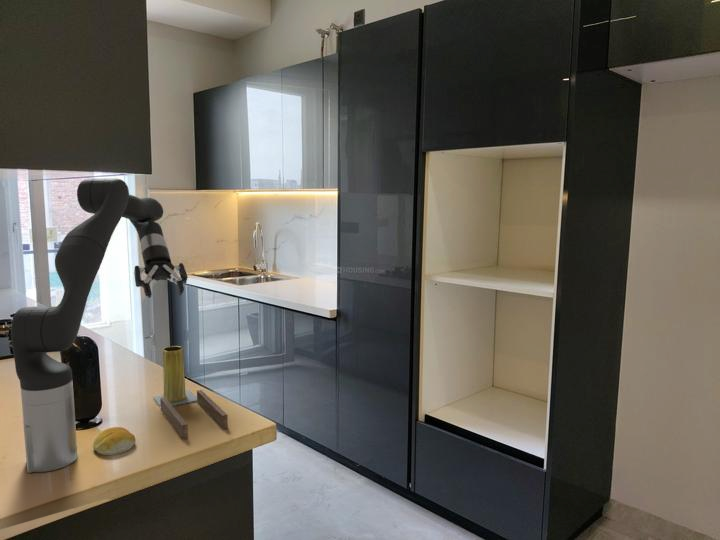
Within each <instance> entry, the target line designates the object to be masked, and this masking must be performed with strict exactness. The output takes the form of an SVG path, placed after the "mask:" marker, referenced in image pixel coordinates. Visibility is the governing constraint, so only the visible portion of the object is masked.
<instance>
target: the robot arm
mask: <svg viewBox="0 0 720 540" xmlns="http://www.w3.org/2000/svg"><path fill="white" fill-rule="evenodd" d="M76 189H77V190H76V198H77V202H78V205H79V206H80V208H81V209H82V210H83V211H84V212H87V213H89V214H92V215H91V216H90V217H89V218H87V219H86V220H84V221H82V222H81V223H80V224H78V225H76V226H75V227H74V228H73V229H71V230H70V231H69V232H68V233H67V234H66V235H65V236H64V238H63V240H62V242H61V244H60V246H59V247H58V250H57V252H56V254H55V258H54V266H55V267H54V268H55V270H56V273H57V276H58V277H59V280H60V282H61V284H62V286H63V290H64V291H63V296H62V299H61V301H60V302H59V303H58V304H57V305H56V306H25V307H21V308H19V309H18V310H16V312H15V314H14V315H13V318H12V321H11V325H10V339H11V340H10V341H11V345H12V354H13V358H14V367H15V368H14V369H15V372H16V373H15V374H16V376H17V379H19V385H20V395H21V406H22V424H23V433H24V434H23V435H24V447H25V448H24V449H25V457H26V458H25V460H26V469H27V473H28V474H31V473H36V472H37V473H43V472H46V473H47V472H51V471H56V470H59V469H62V468H65V467H67V466H69V465H71V464H72V463H74V462H75V461H76V460H77V459H78V442H77V441H78V440H77V428H76V412H75V399H74V398H75V397H74V384H73V371H72V368H71V366H70V365H68V364H67V363H64V362H61V361H60V360H59V361H58V360H56V359H54V358H52V357H51V356H50V355H49V354H47V353H55V352H56V353H59V352H60V353H61V352H65V351H67V350H70V349H71V347H72V346H73V344H74V343H75V341H76V339H77V337H78V334H79V330H80V327H81V323H82V320H83V316H84V314H85V313H84V312H85V309H86V306H87V302H88V298H89V295H90V292H91V289H92V287H93V283H94V282H95V279H96V277H97V275H98V272H99V270H100V268H101V265H102V262H103V261H104V257H105V254H106V252H107V249H108V246H109V244H110V241H111V240H112V239H111V238H112V237H113V234H114V232H115V230H116V228H117V227H118V224H119V222H120V221H121V219H122V218H125V219H127V220H129V221H130V223H131V224H132V225H133V227H134V228H135V230H136V232H137V234H138V239H139V243H140V244H139V245H140V253H141V256H142V260H143V265H144V267H140V266H139V265H135V266H134V271H133V273H134V274H133V275H134V281H135V283H134V284H135V287H136V288H139V287H142V288H143V292H144V295H145V297H147V298H148V299H149V298H152V290H151V286H150V285H151V283H152V282H153V281H154V280H155V281H167V280H168V281H169V282H172V283H174V284H175V285H176V289H177V293H178V295H179V296H182V294H183V293H184V290H185V288H184V284H187V282H188V281H187V280H188V278H189V277H188V274H187V271H186V269H185V265H184V263H183V262H180V263H179V264H177V265H174V264H173V263H172V260H171V256H170V252H169V248H168V245H167V242H166V240H165V236H164V233H163V229H162V227H161V225H160V224H159V223H158V222H156V221H158V220H160V219H162V217H163V216H164V208H163V205H162V204H161V203H160V202H159V200H157V199H155V198H151V197H138V196H135V195H133V194H130V192H129V191H130V189H129V187H128V184H127V183H126V182H125V181H124V180H122V179H121V178H116V177H91V178H85V179H82V181H80V182H79V184H78V185H77V188H76ZM143 273H145V274H146V277H145V278H144V280H142V277H141V276H142V275H143ZM177 273H178V274H179V275H178V274H177Z"/></svg>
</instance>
